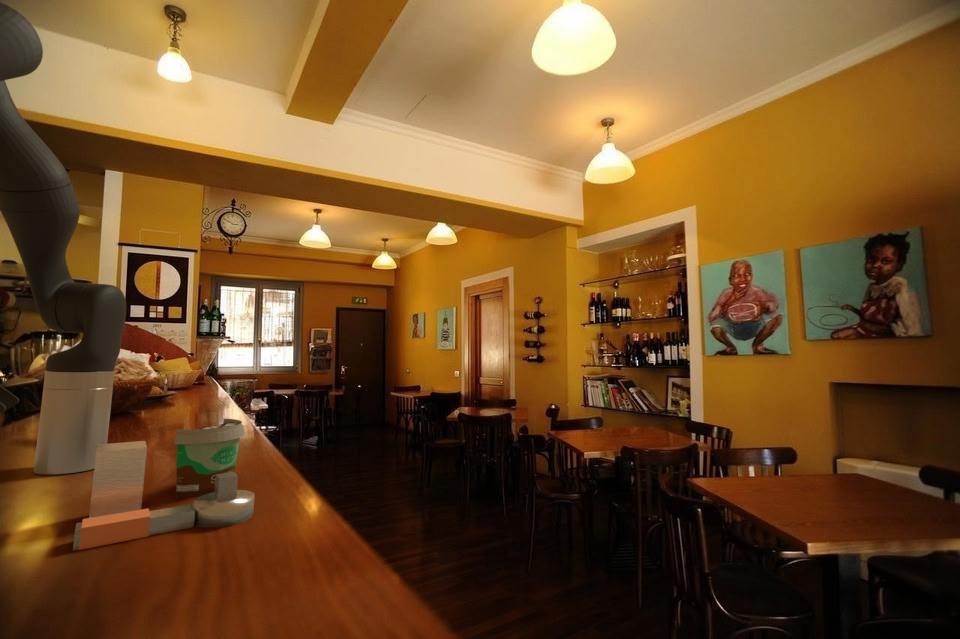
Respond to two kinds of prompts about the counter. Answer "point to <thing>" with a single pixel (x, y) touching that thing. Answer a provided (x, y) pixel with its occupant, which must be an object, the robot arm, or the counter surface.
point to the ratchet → (170, 516)
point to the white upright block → (118, 478)
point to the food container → (206, 456)
